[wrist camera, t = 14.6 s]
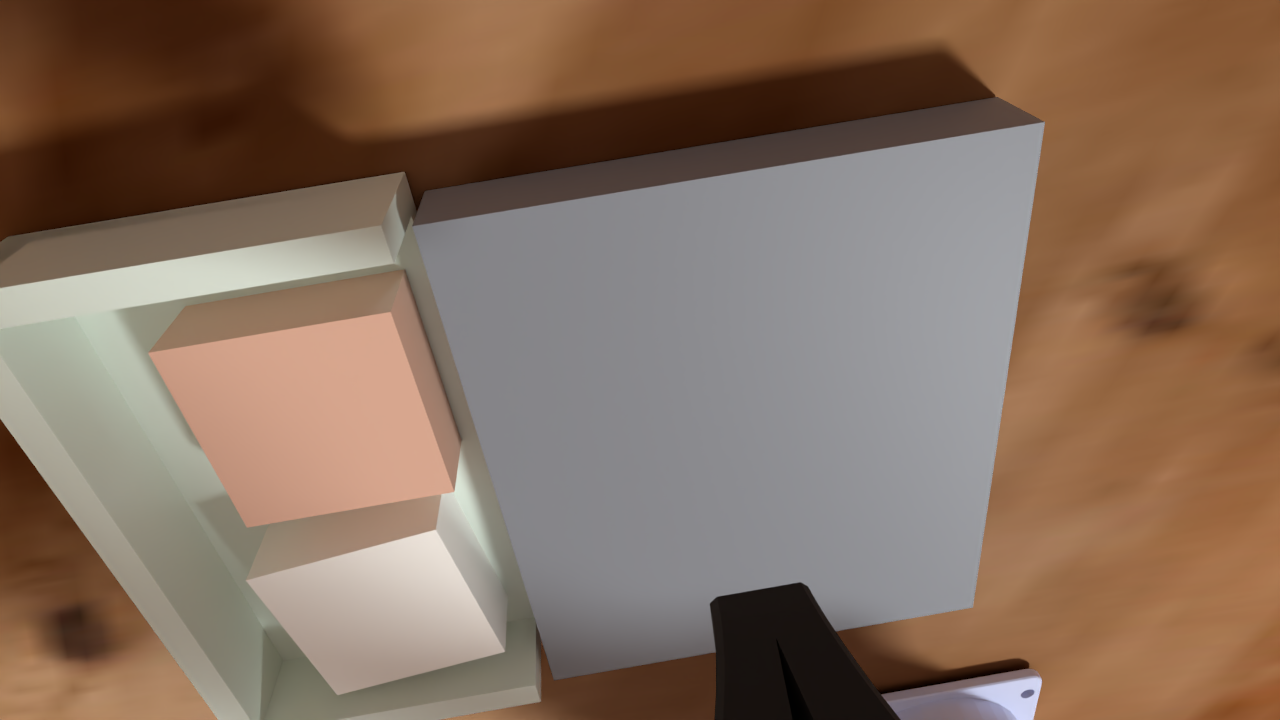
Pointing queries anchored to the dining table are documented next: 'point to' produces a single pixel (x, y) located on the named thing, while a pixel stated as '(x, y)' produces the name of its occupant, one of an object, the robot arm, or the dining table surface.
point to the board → (741, 370)
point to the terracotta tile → (314, 397)
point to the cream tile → (382, 590)
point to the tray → (174, 460)
